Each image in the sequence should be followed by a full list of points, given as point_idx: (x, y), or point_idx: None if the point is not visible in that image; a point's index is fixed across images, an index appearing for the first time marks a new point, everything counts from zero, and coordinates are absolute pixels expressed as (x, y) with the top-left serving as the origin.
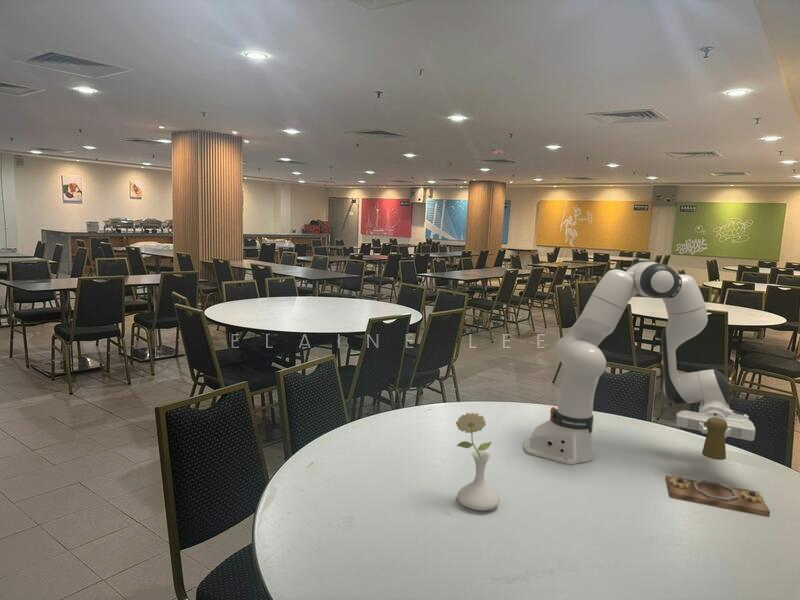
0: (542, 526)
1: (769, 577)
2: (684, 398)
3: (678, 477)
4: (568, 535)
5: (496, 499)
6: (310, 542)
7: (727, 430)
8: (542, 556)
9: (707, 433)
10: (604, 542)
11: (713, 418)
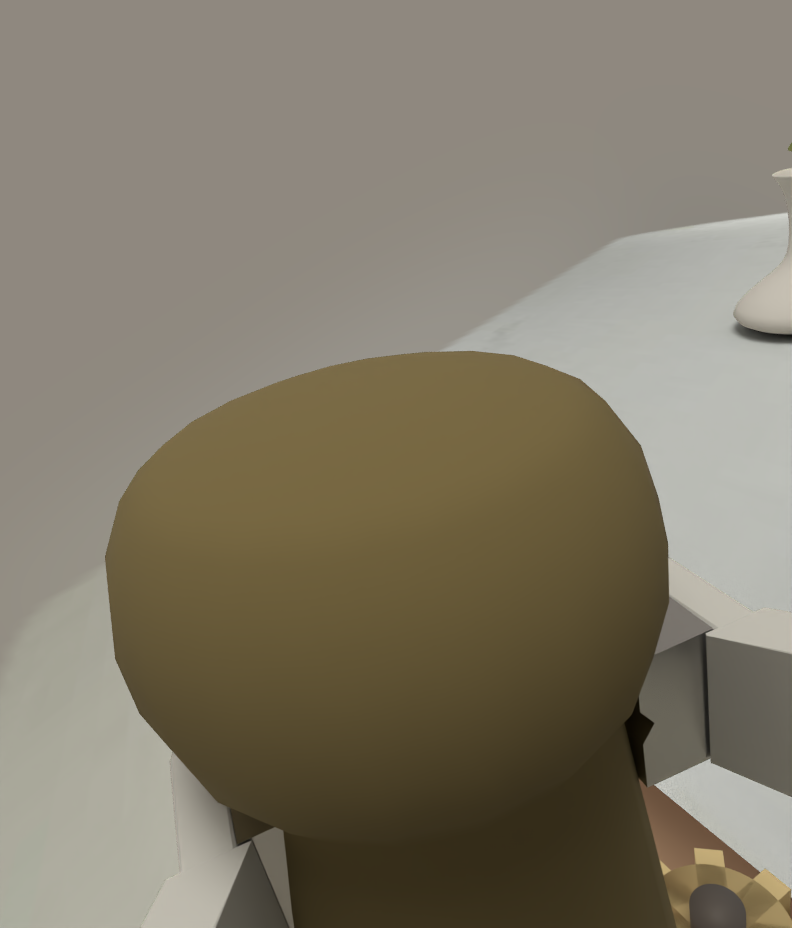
0: (632, 377)
1: (81, 623)
2: None
3: (742, 907)
4: None
5: (755, 310)
6: (719, 236)
7: (161, 892)
8: None
9: None
10: None
11: (441, 359)
